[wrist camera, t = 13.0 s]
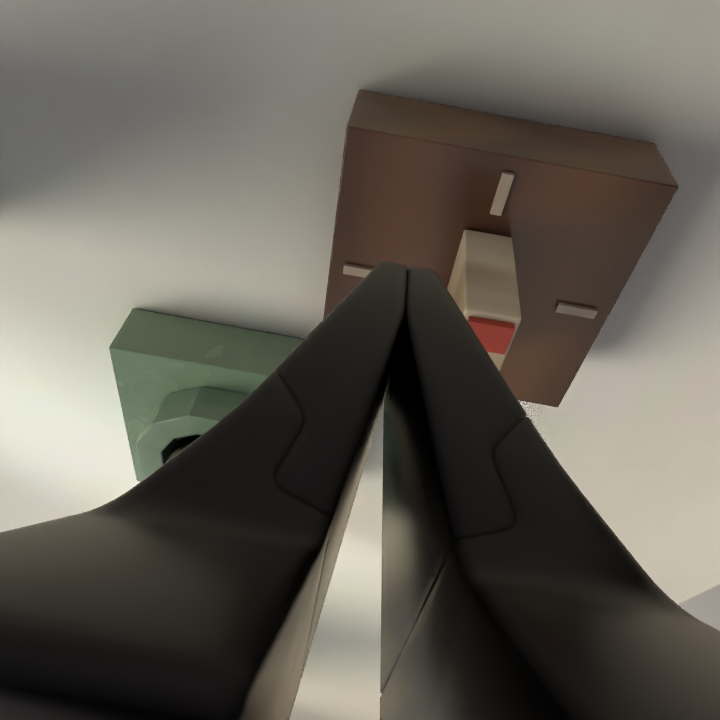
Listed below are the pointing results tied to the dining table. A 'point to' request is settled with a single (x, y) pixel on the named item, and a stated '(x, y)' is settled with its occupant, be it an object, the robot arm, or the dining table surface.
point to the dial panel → (500, 217)
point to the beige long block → (487, 290)
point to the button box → (185, 378)
